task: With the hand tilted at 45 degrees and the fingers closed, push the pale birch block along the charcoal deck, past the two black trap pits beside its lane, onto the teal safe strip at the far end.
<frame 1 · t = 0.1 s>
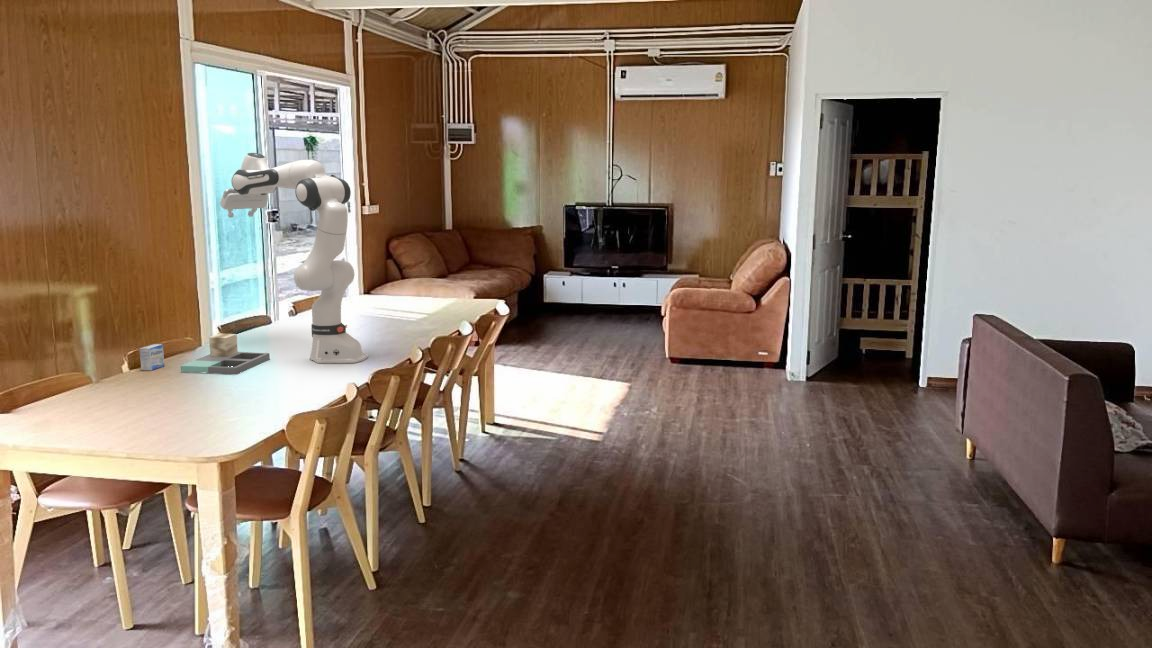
hand: (240, 216, 379), 54 cm above the table, tool tilted 30°, fingers open, 8 cm apart
birch block: (224, 354, 350), point 2 cm above the table, touching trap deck
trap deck: (226, 365, 342), on the table
medicine box: (153, 368, 337), on the table
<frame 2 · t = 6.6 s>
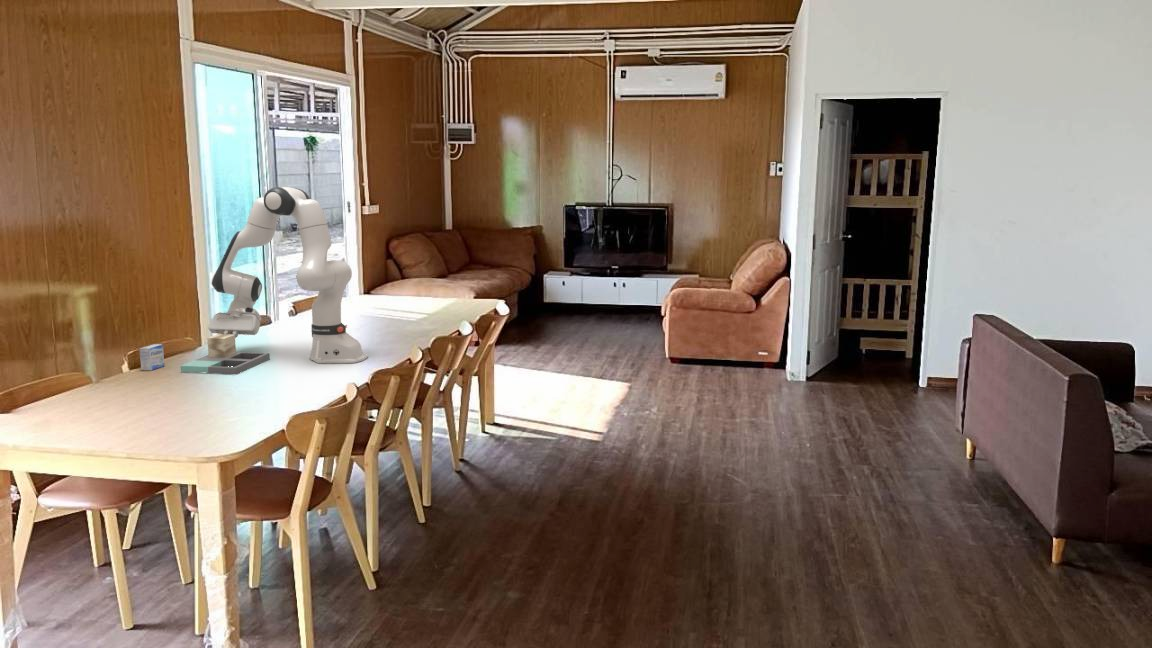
hand: (227, 341, 353), 7 cm above the table, tool tilted 45°, fingers closed, pressing on birch block
birch block: (222, 354, 349), point 2 cm above the table, touching gripper, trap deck
everything else where it was.
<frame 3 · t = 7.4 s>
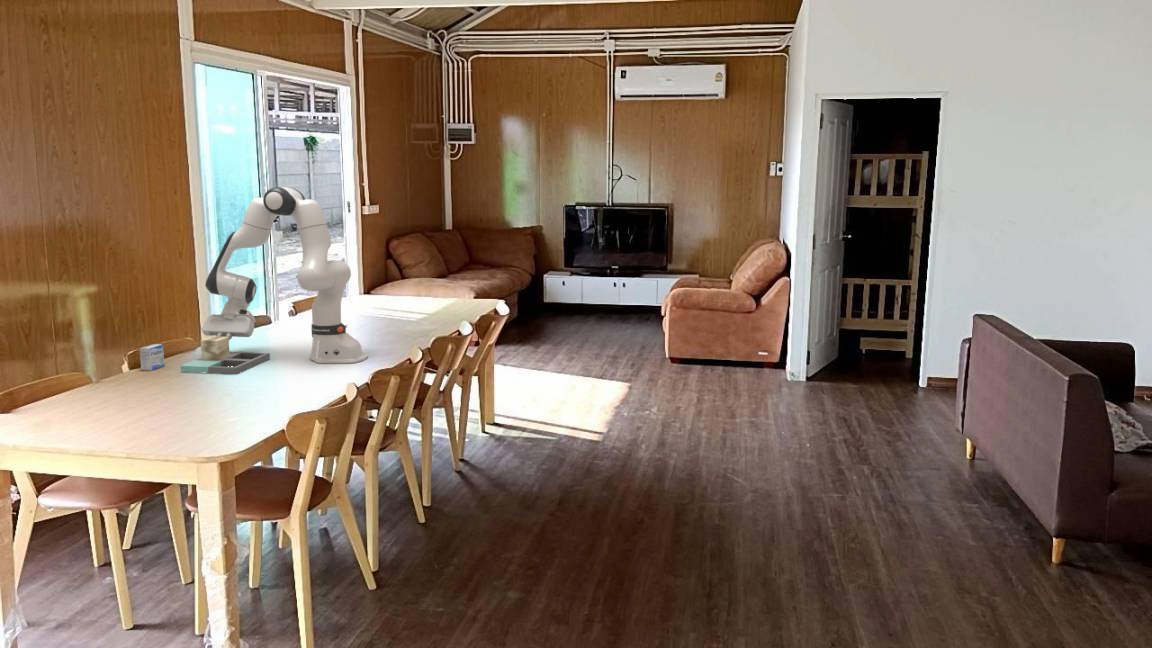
hand: (221, 344, 348), 7 cm above the table, tool tilted 45°, fingers closed, pressing on birch block
birch block: (215, 357, 345), point 3 cm above the table, touching gripper
everything else where it was.
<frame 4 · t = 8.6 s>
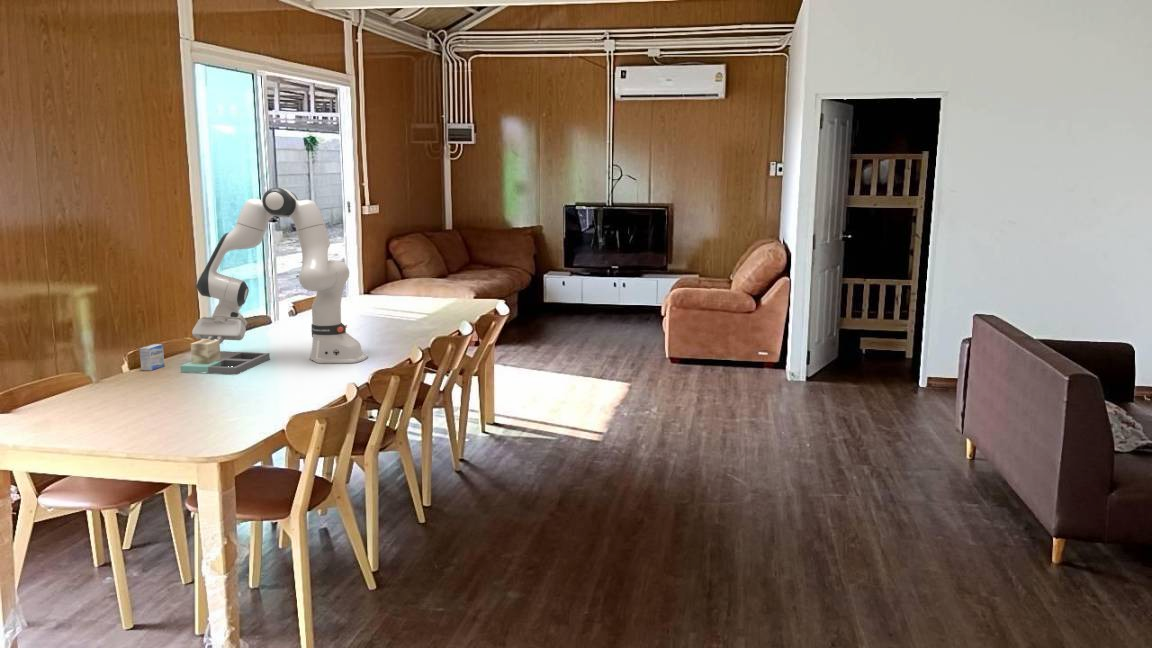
hand: (212, 347, 342), 7 cm above the table, tool tilted 45°, fingers closed, pressing on birch block
birch block: (206, 361, 338), point 3 cm above the table, touching gripper, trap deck
everything else where it was.
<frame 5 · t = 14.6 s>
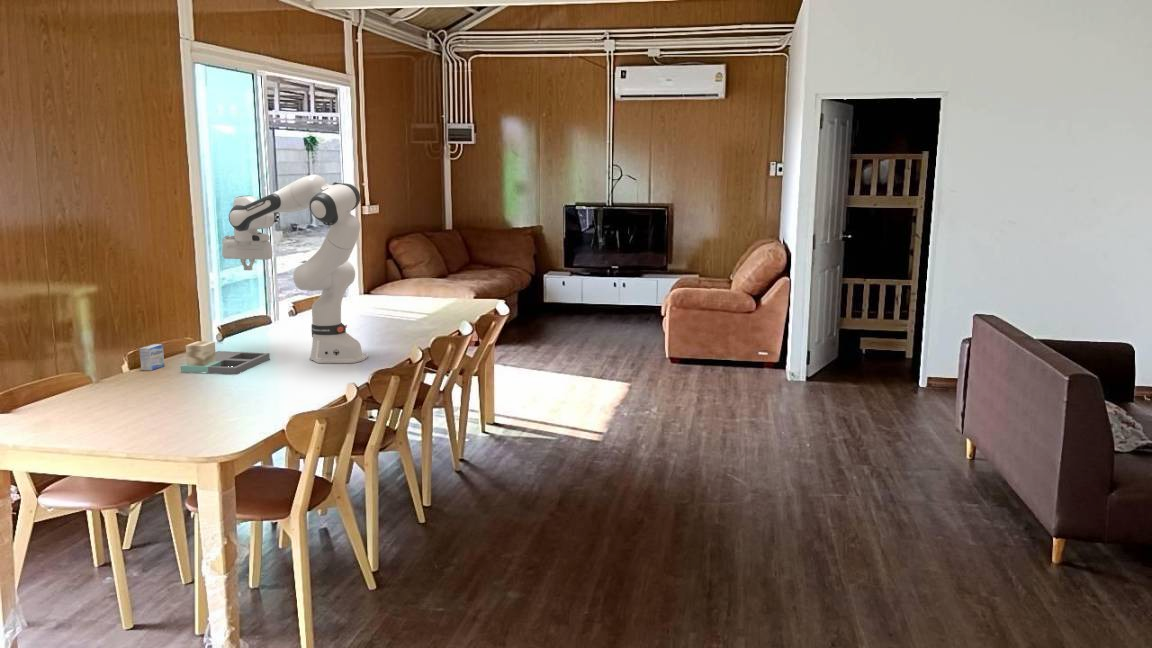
hand: (248, 270, 360), 34 cm above the table, tool pointing down, fingers closed
birch block: (201, 363, 335), point 2 cm above the table, touching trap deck
everything else where it was.
at the end: birch block inside the target area on the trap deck (0.6 cm from its centre), point 2.5 cm above the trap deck's base; birch block tilted 0° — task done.
